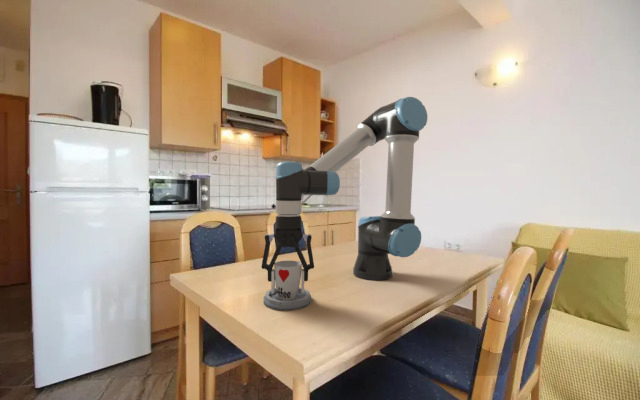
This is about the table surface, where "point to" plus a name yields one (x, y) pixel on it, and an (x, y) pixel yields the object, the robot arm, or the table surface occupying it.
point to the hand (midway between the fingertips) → (287, 291)
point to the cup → (287, 278)
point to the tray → (287, 301)
